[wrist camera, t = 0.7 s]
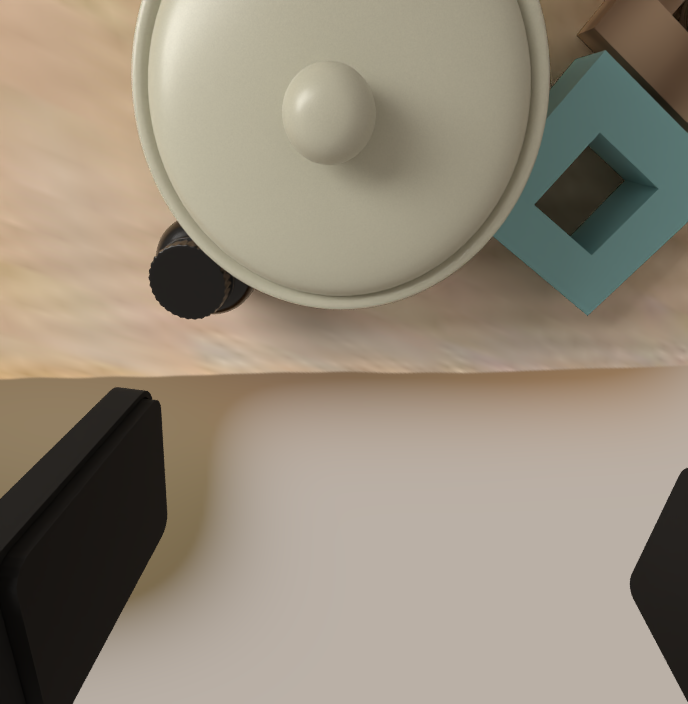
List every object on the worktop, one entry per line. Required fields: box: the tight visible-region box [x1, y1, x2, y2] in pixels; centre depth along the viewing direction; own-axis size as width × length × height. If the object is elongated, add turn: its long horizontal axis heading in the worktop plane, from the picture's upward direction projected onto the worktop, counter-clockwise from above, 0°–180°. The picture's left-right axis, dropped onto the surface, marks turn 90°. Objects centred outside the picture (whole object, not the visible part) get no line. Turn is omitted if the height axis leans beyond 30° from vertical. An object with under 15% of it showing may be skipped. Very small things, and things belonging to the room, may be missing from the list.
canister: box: [132, 0, 550, 310], centre depth 27 cm, size 18×18×21 cm
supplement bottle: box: [149, 221, 254, 319], centre depth 36 cm, size 7×7×12 cm
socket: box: [493, 50, 688, 316], centre depth 36 cm, size 12×12×5 cm
